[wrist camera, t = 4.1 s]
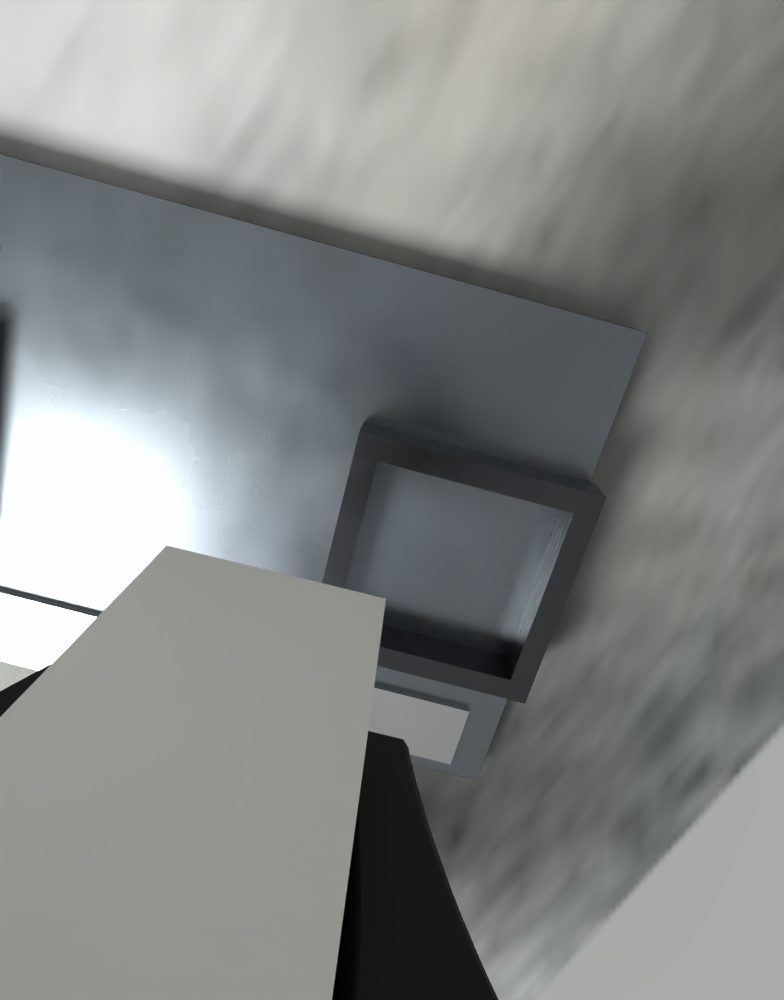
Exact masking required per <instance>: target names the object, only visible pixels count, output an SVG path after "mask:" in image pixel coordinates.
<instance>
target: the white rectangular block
mask: <svg viewBox="0 0 784 1000" xmlns="http://www.w3.org/2000/svg"><path fill="white" fill-rule="evenodd" d="M385 602H386V599H385V598H381V597H377V596H373V595H369V594H365V593H360V592H356V591H352V590H348V589H344V588H340V587H336V586H332V585H327V584H323V583H319V582H315V581H311V580H307V579H303V578H299V577H294V576H290V575H286V574H282V573H278V572H274V571H270V570H266V569H261V568H257V567H253V566H249V565H245V564H241V563H237V562H233V561H229V560H224V559H220V558H216V557H212V556H208V555H204V554H200V553H196V552H191V551H187V550H183V549H179V548H175V547H171V546H166V547H165V548H164V549H163V550H162V551H161V552H160V553H159V554H158V555H157V556H156V557H155V558H154V559H153V560H152V561H151V562H150V563H149V564H148V565H147V566H146V567H145V568H144V569H143V570H142V571H141V573H140V574H139V575H138V576H137V577H136V578H135V579H134V580H133V581H132V582H131V583H130V584H129V585H128V586H127V587H126V588H125V589H124V590H123V591H122V592H121V593H120V594H119V595H118V596H117V597H116V598H115V599H114V600H113V601H112V602H111V603H110V604H109V605H108V607H107V608H106V609H105V610H104V611H103V612H102V613H101V614H100V615H99V616H98V617H97V618H96V619H95V620H94V621H93V622H92V623H91V624H90V625H89V626H88V627H87V628H86V629H85V630H84V631H83V632H82V633H81V634H80V635H79V636H78V637H77V638H76V640H75V641H74V642H73V643H72V644H71V645H70V646H69V647H68V648H67V649H66V650H65V651H64V652H63V653H62V654H61V655H60V656H59V657H58V658H57V659H56V660H55V661H54V662H53V663H52V664H51V665H50V666H49V667H48V668H47V669H46V670H45V671H44V673H43V674H42V675H41V676H40V677H39V678H38V679H37V680H36V681H35V682H34V683H33V684H32V685H31V686H30V687H29V688H28V689H27V690H26V691H25V692H24V693H23V694H22V695H21V696H20V697H19V698H18V699H17V700H16V701H15V702H14V703H13V704H12V705H11V707H10V708H9V709H8V710H7V711H6V712H5V713H4V714H3V715H2V716H1V717H0V1000H332V996H333V988H334V981H335V973H336V966H337V959H338V951H339V944H340V936H341V929H342V921H343V914H344V907H345V899H346V892H347V884H348V877H349V870H350V862H351V855H352V847H353V840H354V832H355V825H356V818H357V810H358V803H359V795H360V788H361V780H362V773H363V766H364V758H365V751H366V743H367V736H368V729H369V721H370V714H371V706H372V699H373V691H374V684H375V677H376V669H377V662H378V654H379V647H380V640H381V632H382V625H383V617H384V610H385Z"/></svg>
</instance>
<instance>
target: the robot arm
mask: <svg viewBox="0 0 784 1000" xmlns="http://www.w3.org/2000/svg"><path fill="white" fill-rule="evenodd" d="M50 665H51V664H50ZM50 665H48V666H47V667H45V668H43V669H41V670H39V671H37V672H35V673H33V674H32V675H30V676H28V677H26V678H24V679H22V680H21V681H19V682H17V683H15V684H13V685H11V686H9V687H8V688H6V689H4V690H2V691H0V717H1V716H2V715H3V714H4V713H5V712H6V711H7V710H8V709H9V708H10V707H11V705H12V704H13V703H14V702H15V701H16V700H17V699H18V698H19V697H20V696H21V695H22V694H23V693H24V692H25V691H26V690H27V689H28V688H29V687H30V686H31V685H32V684H33V683H34V682H35V681H36V680H37V679H38V678H39V677H40V676H41V675H42V674H43V673H44V671H45V670H46V669H47V668H48V667H49V666H50ZM332 1000H498V998H497V996H496V994H495V992H494V989H493V987H492V985H491V983H490V981H489V979H488V976H487V974H486V972H485V970H484V967H483V965H482V963H481V961H480V959H479V956H478V954H477V952H476V949H475V947H474V944H473V942H472V940H471V937H470V935H469V933H468V930H467V928H466V925H465V923H464V921H463V918H462V916H461V913H460V911H459V908H458V906H457V903H456V901H455V898H454V895H453V893H452V890H451V888H450V885H449V882H448V879H447V877H446V874H445V871H444V868H443V865H442V863H441V860H440V857H439V854H438V851H437V848H436V846H435V843H434V840H433V837H432V834H431V831H430V828H429V825H428V821H427V818H426V815H425V811H424V808H423V805H422V801H421V798H420V794H419V791H418V787H417V783H416V780H415V776H414V772H413V767H412V763H411V758H410V753H409V748H408V746H407V745H406V743H405V741H404V740H403V739H400V738H396V737H392V736H388V735H383V734H379V733H375V732H371V731H368V736H367V743H366V751H365V758H364V766H363V773H362V780H361V788H360V795H359V803H358V810H357V818H356V825H355V832H354V840H353V847H352V855H351V862H350V870H349V877H348V884H347V892H346V899H345V907H344V914H343V921H342V929H341V936H340V944H339V951H338V959H337V966H336V973H335V981H334V988H333V996H332Z"/></svg>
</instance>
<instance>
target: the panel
mask: <svg viewBox="0 0 784 1000" xmlns="http://www.w3.org/2000/svg"><path fill="white" fill-rule="evenodd" d="M646 335H647V333H646V332H642V331H638V330H635V329H631V328H628V327H624V326H620V325H617V324H613V323H609V322H606V321H602V320H599V319H595V318H591V317H588V316H584V315H580V314H577V313H573V312H570V311H566V310H562V309H559V308H555V307H552V306H548V305H544V304H541V303H537V302H533V301H530V300H526V299H523V298H519V297H515V296H512V295H508V294H504V293H501V292H497V291H494V290H490V289H486V288H483V287H479V286H475V285H472V284H468V283H465V282H461V281H457V280H454V279H450V278H447V277H443V276H439V275H436V274H432V273H428V272H425V271H421V270H418V269H414V268H410V267H407V266H403V265H399V264H396V263H392V262H389V261H385V260H381V259H378V258H374V257H370V256H367V255H363V254H360V253H356V252H352V251H349V250H345V249H341V248H338V247H334V246H331V245H327V244H323V243H320V242H316V241H313V240H309V239H305V238H302V237H298V236H294V235H291V234H287V233H284V232H280V231H276V230H273V229H269V228H265V227H262V226H258V225H255V224H251V223H247V222H244V221H240V220H236V219H233V218H229V217H226V216H222V215H218V214H215V213H211V212H208V211H204V210H200V209H197V208H193V207H189V206H186V205H182V204H179V203H175V202H171V201H168V200H164V199H160V198H157V197H153V196H150V195H146V194H142V193H139V192H135V191H131V190H128V189H124V188H121V187H117V186H113V185H110V184H106V183H103V182H99V181H95V180H92V179H88V178H84V177H81V176H77V175H74V174H70V173H66V172H63V171H59V170H55V169H52V168H48V167H45V166H41V165H37V164H34V163H30V162H26V161H23V160H19V159H16V158H12V157H8V156H5V155H1V154H0V661H2V662H6V663H10V664H14V665H18V666H22V667H26V668H30V669H34V670H38V671H39V670H41V669H43V668H45V667H47V666H48V665H50V664H52V663H53V662H54V661H55V660H56V659H57V658H58V657H59V656H60V655H61V654H62V653H63V652H64V651H65V650H66V649H67V648H68V647H69V646H70V645H71V644H72V643H73V642H74V641H75V640H76V638H77V637H78V636H79V635H80V634H81V633H82V632H83V631H84V630H85V629H86V628H87V627H88V626H89V625H90V624H91V623H92V622H93V621H94V620H95V619H96V618H97V617H98V616H99V615H100V614H101V613H102V612H103V611H104V610H105V609H106V608H107V607H108V605H109V604H110V603H111V602H112V601H113V600H114V599H115V598H116V597H117V596H118V595H119V594H120V593H121V592H122V591H123V590H124V589H125V588H126V587H127V586H128V585H129V584H130V583H131V582H132V581H133V580H134V579H135V578H136V577H137V576H138V575H139V574H140V573H141V571H142V570H143V569H144V568H145V567H146V566H147V565H148V564H149V563H150V562H151V561H152V560H153V559H154V558H155V557H156V556H157V555H158V554H159V553H160V552H161V551H162V550H163V549H164V548H165V547H166V546H171V547H175V548H179V549H183V550H187V551H191V552H196V553H200V554H204V555H208V556H212V557H216V558H220V559H224V560H229V561H233V562H237V563H241V564H245V565H249V566H253V567H257V568H261V569H266V570H270V571H274V572H278V573H282V574H286V575H290V576H294V577H299V578H303V579H307V580H311V581H315V582H319V583H323V584H327V585H332V586H336V587H340V588H344V589H348V590H352V591H356V592H360V593H365V594H369V595H373V596H377V597H381V598H385V599H386V602H385V610H384V617H383V625H382V632H381V640H380V647H379V654H378V662H377V669H376V677H375V684H374V691H373V699H372V706H371V714H370V721H369V729H368V731H371V732H375V733H379V734H383V735H388V736H392V737H396V738H400V739H403V740H404V741H405V743H406V745H407V746H408V748H409V753H410V758H411V763H412V764H414V765H418V766H422V767H426V768H430V769H434V770H438V771H442V772H446V773H450V774H454V775H458V776H462V777H466V778H470V779H474V780H477V778H478V775H479V773H480V770H481V768H482V765H483V762H484V760H485V757H486V754H487V752H488V749H489V747H490V744H491V741H492V739H493V736H494V733H495V731H496V728H497V726H498V723H499V720H500V718H501V715H502V712H503V710H504V707H505V705H506V702H507V699H509V700H513V701H517V702H521V703H525V702H526V700H527V697H528V694H529V692H530V689H531V687H532V684H533V682H534V679H535V677H536V674H537V672H538V669H539V666H540V664H541V661H542V659H543V656H544V654H545V651H546V649H547V646H548V644H549V641H550V638H551V636H552V633H553V631H554V628H555V626H556V623H557V621H558V618H559V616H560V613H561V610H562V608H563V605H564V603H565V600H566V598H567V595H568V593H569V590H570V588H571V585H572V583H573V580H574V577H575V575H576V572H577V570H578V567H579V565H580V562H581V560H582V557H583V555H584V552H585V549H586V547H587V544H588V542H589V539H590V537H591V534H592V532H593V529H594V527H595V524H596V521H597V519H598V516H599V514H600V511H601V509H602V506H603V504H604V501H605V499H606V497H605V496H604V494H603V493H602V492H601V491H600V489H599V488H598V487H597V486H596V484H595V483H594V482H591V479H592V476H593V474H594V471H595V469H596V466H597V463H598V461H599V458H600V455H601V453H602V450H603V448H604V445H605V442H606V440H607V437H608V434H609V432H610V429H611V427H612V424H613V421H614V419H615V416H616V414H617V411H618V408H619V406H620V403H621V400H622V398H623V395H624V393H625V390H626V387H627V385H628V382H629V379H630V377H631V374H632V372H633V369H634V366H635V364H636V361H637V358H638V356H639V353H640V351H641V348H642V345H643V343H644V340H645V337H646Z"/></svg>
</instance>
